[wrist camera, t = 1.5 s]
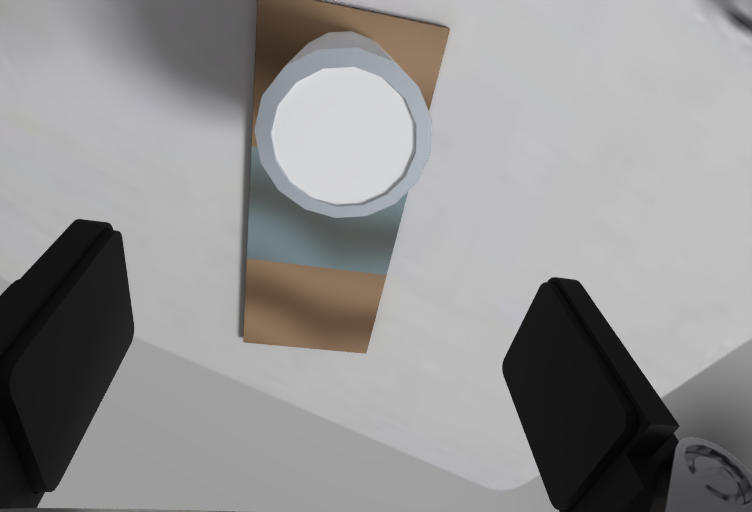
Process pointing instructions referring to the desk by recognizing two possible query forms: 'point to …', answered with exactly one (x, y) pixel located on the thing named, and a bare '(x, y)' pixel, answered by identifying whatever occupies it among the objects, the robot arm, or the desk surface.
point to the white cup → (343, 128)
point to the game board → (314, 230)
